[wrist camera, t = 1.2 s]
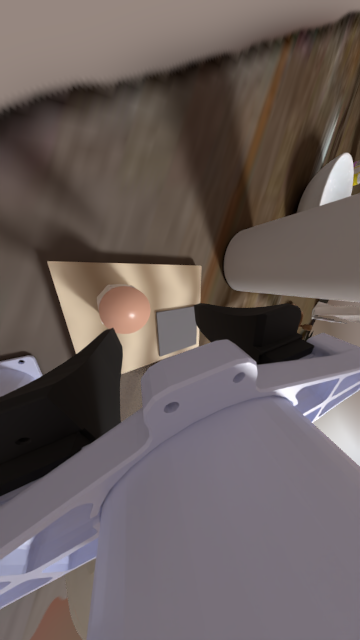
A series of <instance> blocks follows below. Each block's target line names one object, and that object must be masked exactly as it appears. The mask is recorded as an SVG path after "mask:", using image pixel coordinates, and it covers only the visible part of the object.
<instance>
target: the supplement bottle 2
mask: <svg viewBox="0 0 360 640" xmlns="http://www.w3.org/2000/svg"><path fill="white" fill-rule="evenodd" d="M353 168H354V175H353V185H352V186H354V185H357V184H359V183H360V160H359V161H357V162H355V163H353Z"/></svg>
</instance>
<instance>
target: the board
mask: <svg viewBox="0 0 360 640" xmlns="http://www.w3.org/2000/svg"><path fill="white" fill-rule="evenodd" d="M47 263H48V266H49V269H50V272H51V276H52V279H53V282H54V285H55V288H56V292H57V295H58V298H59V301H60V304H61V307H62V311H63V314H64V317H65V320H66V323H67V327H68V330H69V333H70V336H71V339H72V343H73V346H74V349H75V352H76V354H77V353H78V352H80V351H81V350H82V349H83V348H85V347H86V346H87V345H88V344H89V343H91V342H92V341H93V340H94V339H95V338H96V337H97V336H98V335H100V334H101V333H102V332H103V331H105V330H107V329H108V328H107V327H106V326H105V325H104V324H102V323H101V319H100V315H99V310H98V305H97V296H98V295H99V294H100V293H101V292H102V291H103V290H104V288H105V287H106V286H107V285H111V284H128V285H132V286H134V287H135V288H136V289H137V290H139V291H141V292H142V293H143V294H144V295H145V296H146V297H147V299H148V301H149V303H150V309H151V311H150V317H149V319H148V321H147V323H146V324H145V325H144V326H143V327H142V328H141V329H140V330H138V331H136V332H134V333H130V334H119V333H116V334H117V336H118V339H119V341H120V343H121V345H122V347H123V361H122V369H121V374H123V373H126V372H129V371H131V370H134V369H137V368H140V367H143V366H145V365H148V364H151V363H154V362H157V361H159V360H162V359H165V358H168V357H170V356H173V355H176V354H179V353H182V352H184V351H187V350H190V349H193V348H196V347H198V346H199V328H198V326H197V336H196V345H193V346H190V347H187V348H184V349H181V350H178V351H175V352H172V353H170V354H167V355H164V356H161V357H160V356H159V345H158V332H157V319H156V312H160V311H166V310H173V309H179V308H185V307H191V306H194V305H196V304H199V303H200V293H201V266H194V265H160V264H126V263H92V262H59V261H47Z"/></svg>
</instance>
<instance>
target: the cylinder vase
mask: <svg viewBox="0 0 360 640" xmlns="http://www.w3.org/2000/svg"><path fill="white" fill-rule="evenodd" d="M224 274H225V278H226V280H227V282H228V284H229V285H230V287H231V288H233V289H234V290H237V291H247V292H257V293H268V294H278V295H289V296H299V297H310V298H320V299H331V300H341V301H342V300H343V301H352V302H360V193H359V194H356V195H352V196H349V197H346V198H343V199H340V200H337V201H334V202H330V203H327V204H324V205H321V206H318V207H315V208H311V209H308V210H305V211H302V212H299V213H296V214H292V215H289V216H286V217H283V218H280V219H277V220H274V221H270V222H267V223H264V224H261V225H258V226H255V227H251V228H248V229H245V230H242V231H240V232H238V233H237V234H236V235H235V236H234V237H233V238H232V240H231V241H230V243H229V245H228V247H227V249H226V253H225V257H224Z"/></svg>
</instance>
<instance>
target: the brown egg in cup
mask: <svg viewBox="0 0 360 640" xmlns="http://www.w3.org/2000/svg"><path fill="white" fill-rule="evenodd" d="M97 305H98V310H99V315H100V319H101V323H102V324H104V325H105V326H106V327H107V328H108V329H111V328H114V330H115V332H116V333H119V334H130V333H134V332H136V331H138V330H140V329H141V328H142V327H143V326H144V325H145V324H146V323H147V321H148V319H149V317H150V311H151V309H150V303H149V301H148V299H147V297H146V296H145V295H144V294H143V293H142V292H141V291H139V290H137V289H136V288H135V287H134V286H132V285H128V284H111V285H107V286H106V287H105V288H104V290H103V291H102V292H101V293H100V294H99V295H98V296H97Z"/></svg>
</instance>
